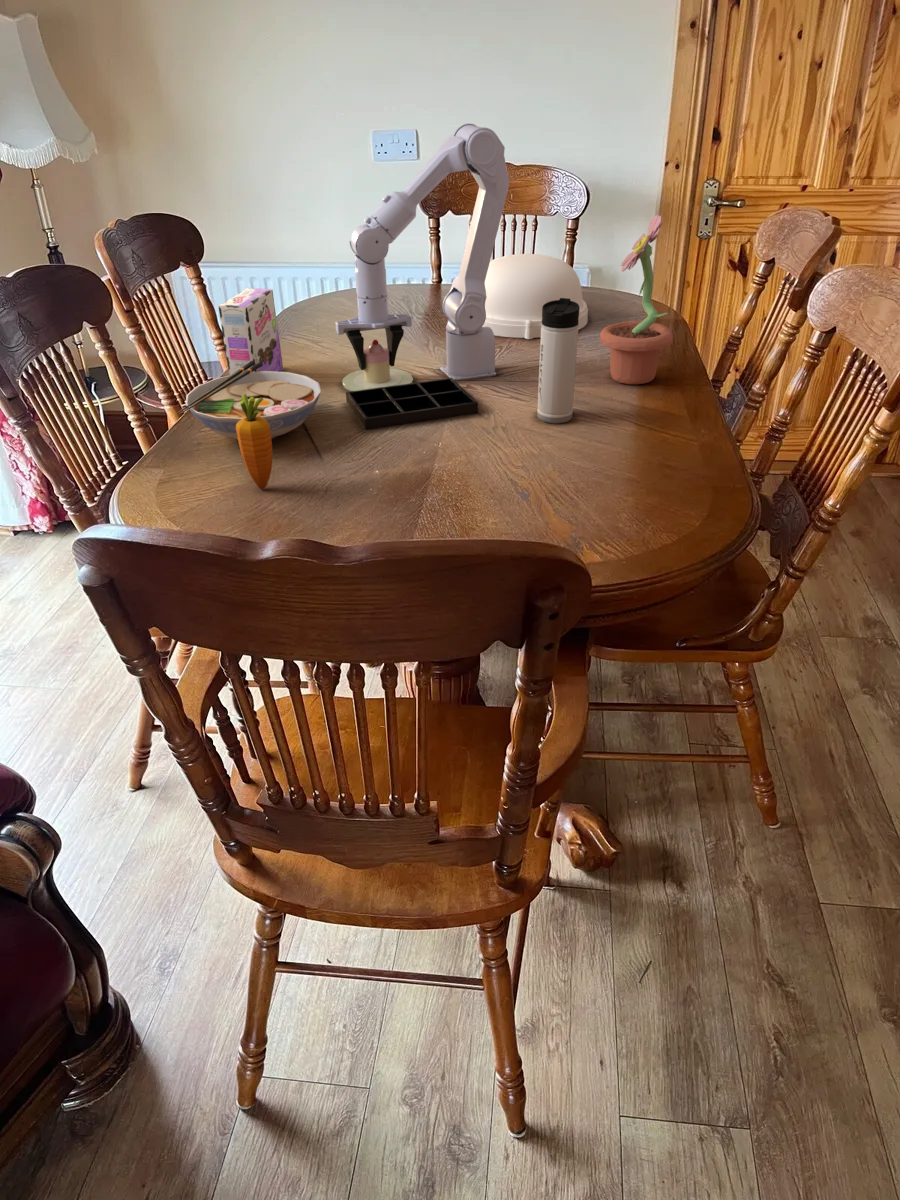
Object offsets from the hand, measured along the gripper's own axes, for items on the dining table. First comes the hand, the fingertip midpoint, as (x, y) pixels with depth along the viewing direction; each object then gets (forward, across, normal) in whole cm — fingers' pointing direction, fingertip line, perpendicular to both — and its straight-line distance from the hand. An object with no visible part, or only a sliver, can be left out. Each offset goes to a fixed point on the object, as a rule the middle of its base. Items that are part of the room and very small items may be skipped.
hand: (376, 366), depth 165 cm
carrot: (+4, -29, -39) cm, 49 cm away
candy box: (+4, -22, +11) cm, 25 cm away
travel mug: (+4, +25, -29) cm, 38 cm away
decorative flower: (+4, +48, -16) cm, 51 cm away
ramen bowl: (+4, -26, -17) cm, 31 cm away
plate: (+3, 0, 0) cm, 3 cm away
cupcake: (+2, 0, 0) cm, 2 cm away
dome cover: (+4, +45, +30) cm, 54 cm away
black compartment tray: (+3, +2, -16) cm, 16 cm away
